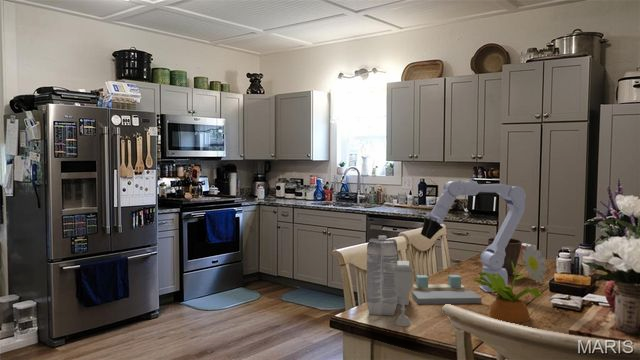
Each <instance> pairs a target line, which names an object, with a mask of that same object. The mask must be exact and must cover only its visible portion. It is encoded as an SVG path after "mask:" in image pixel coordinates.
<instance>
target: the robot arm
mask: <svg viewBox="0 0 640 360" xmlns="http://www.w3.org/2000/svg"><path fill="white" fill-rule="evenodd" d="M442 189H443V191H442V193H441V194H440V196H439V198H438V200H437V201H436V203H435V205H434V206H433V208H432V210H431V211H430V212H427V213H426V215H428V216H427V218H426V217H424V218H423V226H422V229H421V232H420V235H421V236H423V237H424V238H426V239H429V240H432V239H433V237H434V236H435V235H436V233H438V232H439V231H440V230H442V229H443V228H444V226H442V224H443V222H444V220H445V219H446V218H445V217H446V216H447V214H448V212H449V211H450V210H451V207H452V205H453V204H454V202H455V200H456V199H457V197H459V196H476V195H478V194H479V193H496V194H497V195H499V196H501V198H502V199H503V201H504V202H505V203H506V205H507V207H508V209H509V210H508V212H507V214H506V216H505V218H504V221H503V222H502V224H501V225H500V226H499V227H500V228H499V230H498V232H497V233H496V235H495V237H494V238H495V239H494V241H493V243H492V244H491V245H489V246H488V245H487V246H486V249H484V250H483V251H482V252H481V254H480V256H479V257H480V262H481V264H482V273H483V272H486V273H490V274H492V275H493V274H497V273H498V274H499V275H500V276H501V277H502V278H503V279H504V281H505V284H506V287H509V286H508V285H509V284H508V282H509V281H508V279H509V278H508V277H509V276H508V274H507V271H506V269H505V268H501V267H502V266H503V264H504V258H505V256H506V253H505V248H506V246H507V244H508V242H509V240H510V238H511V239H512V236H513V234H514V232H515V230H516V228H517V226H518V225H519V223H520V221H521V219H522V217H523V216H524V214H525V207H526V202H525V201H526V198H527V195H526V191H525V190H524V188H523V187H521V186H514V185H510V184H504V183H487V184H486V183H484V184H479V183H478V182H477V181H476V180H475V181H474V179H469V180H468V181H467V180H466V181H465V180H464V181H463V180H461V179H459V180H457V181H453V180H450V181H448V182H446V183H444V184H443V188H442ZM483 277H484V278H485V279H486V280H487V281H489V279H488V277H487V276H486V275H484V276H483ZM494 277H496V276H494ZM496 279H497V278H496ZM482 281H483V282H484V280H482ZM485 282H486V281H485ZM489 282H490V281H489ZM486 283H487V282H486ZM490 283H491V282H490ZM489 285H490V284H489ZM478 288H480V289H481V290H482V291H483V292H486V293H491V288H489V287H488V286H487V285H482V284H481V285H478Z"/></svg>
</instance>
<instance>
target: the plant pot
mask: <svg viewBox="0 0 640 360" xmlns="http://www.w3.org/2000/svg"><path fill="white" fill-rule="evenodd" d="M494 239H495V237H491V238H488V239H487V244H488V245H487V247H488V246H489V245H491V244H492V243H493V241H494ZM522 242H523V241H522V240H521V239H517V238H512V237H511V238H510V240H509V242H508V244H507V246H506V248H505V253H506V256H505V258H504V264H503V266H502V267H501V268H505V269H506V271H507V274H508V277H511V276H513V274H514V271H513V268H512V264H511V261H512V262H513V264H514V267H515V268H517V265H518V264H517V262H518V258H519V255H520V250H521V245H522Z"/></svg>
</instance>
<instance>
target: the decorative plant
mask: <svg viewBox="0 0 640 360" xmlns="http://www.w3.org/2000/svg"><path fill="white" fill-rule="evenodd" d="M530 245H531V246H530V249H529V247H528V245H526V251H525V250H524V249H523V250H522V251H523V253H524V258H523V260H524V261H525V264H526V267H525V266H522V267H521V268H520V269H519V270H518V271H517V272H516V267H514V264H513V262H512V261H511V264H512V268H513V271H514V272H513V274H514V277H513V280H512V283H511V285H509V286H508V287H506V284H505V281H504V279H503V278H502V277H501V276H500V275H499V274H498V273H497V274H493V275H492V274H490V273H486V272H483V271H482V272H480V273H481V274H480V275H479V277H475V278H474V280H473V282H475V283H478V285H479V284H480V285H481V286H482V285H487V286H488V287H489V288H491V292H492V293H496V294H497V296H496V298H495V300H494V301H493V303H492V304H491V305H490V308H489V309H490V310H489V312H488V315H489V317H490V318H493V319H494V318H496V319H495V320H497V319H500V320H499V321H501V320H504V321H503V322H506V321H508V323H524V322H527V321H530V318H531V317H530V311H529V308H528V307H527V305H526V304H525V303H524V299H523V298H521V297H522V296H524V295H527V294H528V293H530V294H531V295H533V296H534V297H535V298H536V299H538V298H539V297H541V296H543V293H542V292H539V291H538V288H536V287H534V288H525V289H523V290H522V291H520V292H519V293H517V294H514V292H513V289H514V283H515V280H520V279H523V278H524V277H526V274H521V275H519V276H517V275H518V274H520V272H521V271H522V270H524V268H525V270H526V271H528V274H529V278H532V279H534V280H535V282H536V283H538V282H539V283H540V284H543V281H542V280H544V279H545V278H546V275H545V274H546V272H547V271H548V269H547V267H545V266H546V264H545V262H546V257H544V256H543V254H542V251H541V250H538V249H537V248H536V250H535V252H534V246H535V245H534V244H533V243H531V244H530ZM484 275H486V276H487V277H488V279H489V281H490V282H491V283H490V282H489V281H487V280H486V279H485V278H484V277H483V276H484ZM494 276H496V277H494ZM496 278H497V279H496ZM482 280H484V282H483V281H482ZM485 281H486V282H487V283H486V282H485ZM489 284H490V285H489ZM491 292H490V293H491Z"/></svg>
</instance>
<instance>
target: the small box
mask: <svg viewBox="0 0 640 360" xmlns="http://www.w3.org/2000/svg"><path fill="white" fill-rule="evenodd" d="M526 245H528V247H529V249H530V246H531V244H529V243H526V242H525V243H524V242H523V243H522V245H521V250H520V255H519V258H518V262H517V265H519V266H522V267H523V266H525V267H526V264H525V261H524V260H523V258H524V253H523V251H522V250H523V249H524V250H525V251H526ZM536 249H537V245H534V252H535V250H536ZM525 267H524V268H525Z"/></svg>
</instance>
